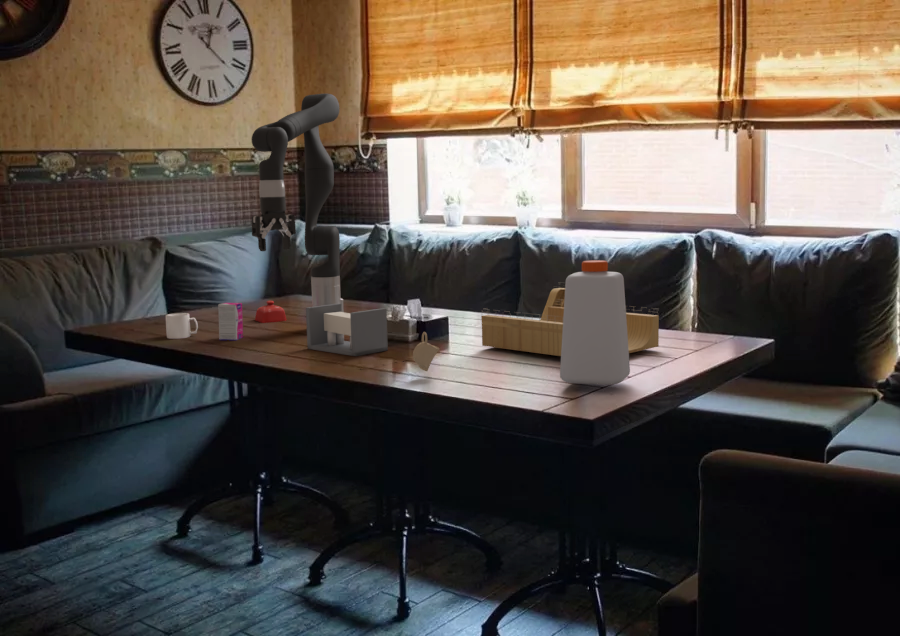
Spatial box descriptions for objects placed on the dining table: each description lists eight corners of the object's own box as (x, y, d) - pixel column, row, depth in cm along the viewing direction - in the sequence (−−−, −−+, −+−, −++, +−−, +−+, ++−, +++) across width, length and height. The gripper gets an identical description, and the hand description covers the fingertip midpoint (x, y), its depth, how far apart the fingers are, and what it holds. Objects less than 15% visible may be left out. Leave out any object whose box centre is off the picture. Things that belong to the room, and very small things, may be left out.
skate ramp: (481, 349, 289) (480, 292, 287) (559, 334, 313) (559, 282, 311) (595, 364, 261) (594, 302, 258) (671, 346, 285) (671, 289, 283)
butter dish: (293, 325, 346) (292, 300, 345) (261, 328, 341) (260, 303, 340) (280, 321, 356) (279, 297, 355) (249, 324, 350) (248, 300, 349)
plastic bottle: (555, 383, 236) (554, 263, 232) (571, 371, 250) (571, 258, 246) (620, 386, 231) (620, 264, 227) (633, 374, 244) (633, 258, 241)
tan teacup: (415, 366, 257) (404, 358, 253) (432, 338, 258) (421, 330, 254) (426, 372, 255) (415, 364, 251) (443, 343, 256) (432, 335, 252)
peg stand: (307, 348, 295) (305, 307, 293) (339, 343, 303) (338, 303, 301) (355, 356, 280) (353, 313, 278) (387, 350, 288) (386, 308, 286)
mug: (198, 335, 326) (197, 312, 325) (198, 339, 319) (196, 315, 318) (167, 337, 324) (166, 313, 323) (166, 340, 317) (164, 316, 316)
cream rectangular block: (369, 334, 286) (368, 316, 285) (352, 336, 283) (352, 318, 282) (340, 328, 299) (340, 311, 298) (324, 330, 295) (323, 313, 295)
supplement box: (236, 341, 312) (234, 304, 310) (218, 341, 313) (216, 304, 311) (244, 338, 317) (242, 302, 316) (226, 338, 318) (224, 302, 317)
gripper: (259, 196, 292) (262, 252, 295) (299, 194, 302) (301, 249, 305) (244, 196, 298) (247, 251, 300) (284, 195, 308) (286, 248, 310)
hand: (274, 250), depth 302 cm, fingers open, 8 cm apart
